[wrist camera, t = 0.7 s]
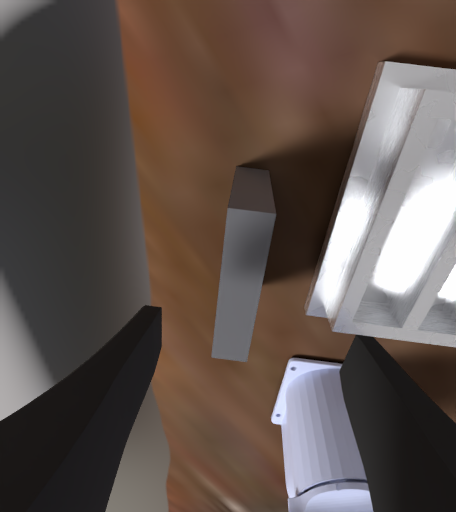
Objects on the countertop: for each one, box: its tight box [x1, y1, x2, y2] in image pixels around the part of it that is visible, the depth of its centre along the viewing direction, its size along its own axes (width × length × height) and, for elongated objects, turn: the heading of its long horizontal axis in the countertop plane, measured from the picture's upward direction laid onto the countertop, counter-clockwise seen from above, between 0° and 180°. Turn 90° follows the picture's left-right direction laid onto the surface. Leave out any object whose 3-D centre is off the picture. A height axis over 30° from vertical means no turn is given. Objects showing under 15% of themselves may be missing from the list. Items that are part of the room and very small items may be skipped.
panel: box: [212, 166, 276, 362], centre depth 18 cm, size 9×2×7 cm, turn 174°
